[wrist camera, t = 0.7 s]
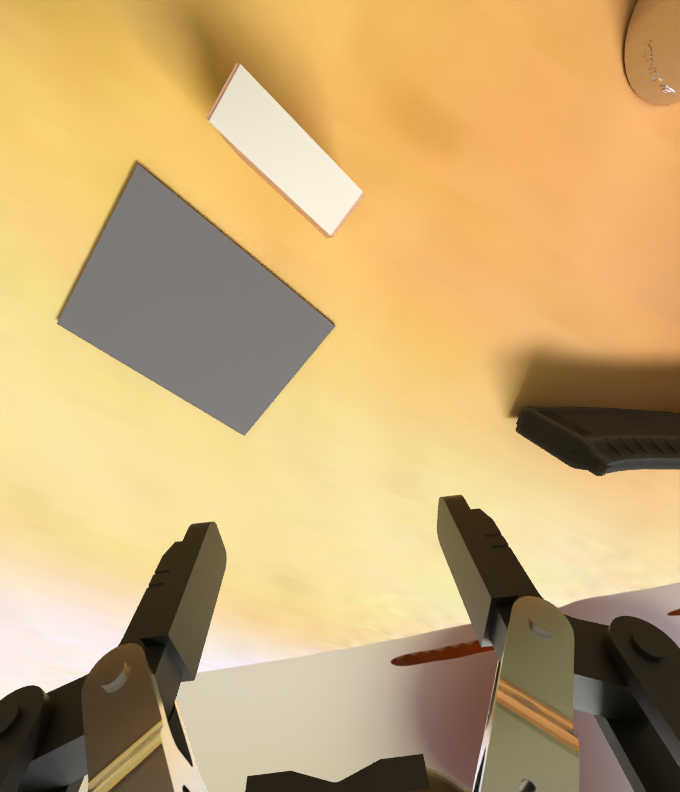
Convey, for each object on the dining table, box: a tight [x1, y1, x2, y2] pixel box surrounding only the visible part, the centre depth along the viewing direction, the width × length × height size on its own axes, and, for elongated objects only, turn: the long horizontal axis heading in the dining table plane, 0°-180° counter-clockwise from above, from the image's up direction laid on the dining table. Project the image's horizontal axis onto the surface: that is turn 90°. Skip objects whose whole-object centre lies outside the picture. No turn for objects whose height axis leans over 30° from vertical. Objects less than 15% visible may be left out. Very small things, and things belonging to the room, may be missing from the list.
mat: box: [57, 164, 335, 436], centre depth 31 cm, size 16×20×1 cm
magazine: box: [516, 407, 680, 476], centre depth 35 cm, size 17×3×30 cm
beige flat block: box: [207, 63, 364, 238], centre depth 23 cm, size 3×9×9 cm, turn 50°
